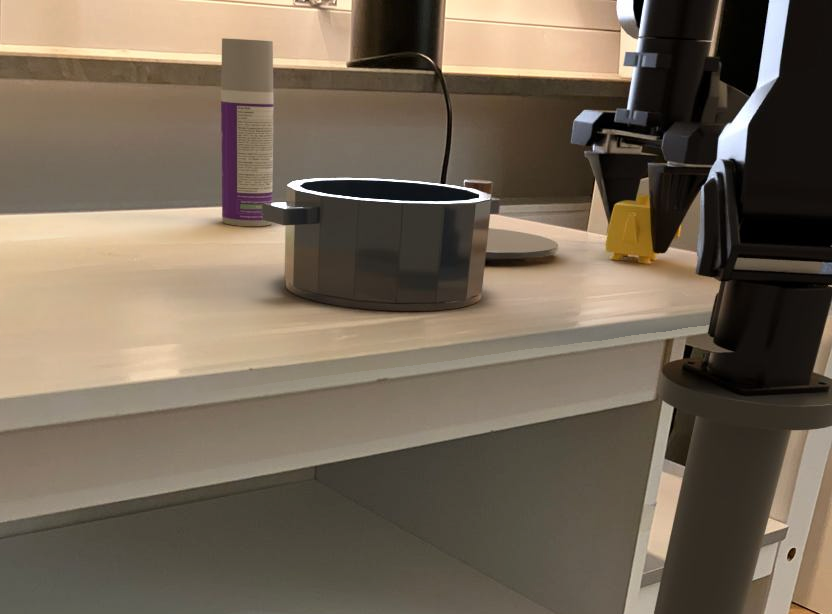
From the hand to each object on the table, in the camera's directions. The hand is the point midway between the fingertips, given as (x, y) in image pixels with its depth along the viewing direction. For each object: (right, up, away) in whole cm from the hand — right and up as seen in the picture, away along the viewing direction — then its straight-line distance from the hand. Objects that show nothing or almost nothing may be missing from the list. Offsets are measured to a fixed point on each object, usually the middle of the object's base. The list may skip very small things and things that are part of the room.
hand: (638, 246), depth 91 cm
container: (-35, +5, +8) cm, 36 cm away
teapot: (0, -1, 0) cm, 1 cm away
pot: (-23, -10, -18) cm, 31 cm away
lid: (-14, 0, -1) cm, 15 cm away
